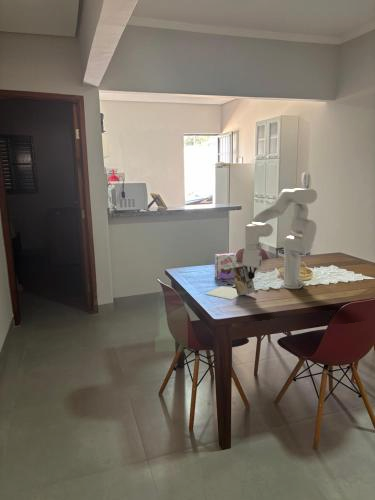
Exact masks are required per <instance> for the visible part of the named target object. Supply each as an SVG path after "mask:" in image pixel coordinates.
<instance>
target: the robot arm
mask: <svg viewBox="0 0 375 500" xmlns="http://www.w3.org/2000/svg"><path fill="white" fill-rule="evenodd" d="M317 198H318V193H317V191H316V190H315V189H314V188H302V187H301V188H299V187H297V188H284V189H282V190H281V191H280V192H279V194H278V195H277V196H276V198H274V201H273V202H272V203H271V204H270V205H269V207H267V208H265V209H263V210H262V211H260V212H259V213H257V214H256V215H255V217H254V218H253V219H252V221H250V223H249V224H246V225H245V229H244V230H245V232H244V233H245V235H244V237H245V239H244V241H245V242H244V249H243V253H242V266H245V267H246V269H247V270H248V272H249V279H254V278H255V275H256V271H259V270H261V269H262V263H263V261H262V260H263V259H262V258H263V257H262V250H261V248H262V245H260V238H262V237H263V238H267V237H270V236H272V234H273V231H274V228H273V226H272V225H271V224H269V223H267V221H271V220H273V219H277V218H280V217H282V216H283V214H284V213H285V211H287V209H288V208H289V206H290V205H293V214H292V218H291V221H290V225H289V230H290V232H291V233H293V234H295V235H287V236H285V237H284V239H283V243H282V246H283V252H284V253H283V254H284V260H283V261H284V263H283V282H281V283H280V287H283V288H284V289H289V290H298V289H301V288H303V286H304V287H306V286H307V283H306V281H302V279H301V261H302V260H301V255H300V254H303V255H305V254H309V253H310V252H311V250H312V247H313V244H314V241H315V236H316V233H317V224H316V222H315V221H314V220H313V219H308V216H309V212H310V211H309V207H308V205H311V204H314V203H315V202H316V200H317ZM298 235H299V236H298ZM300 235H301V236H300Z"/></svg>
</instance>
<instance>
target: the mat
mask: <svg viewBox="0 0 375 500" xmlns="http://www.w3.org/2000/svg"><path fill="white" fill-rule="evenodd" d="M206 295H207V296H212V297H217V298H221V299H224V300H226V299H227V300H230V301H232V300H235V299H237V298H238V297H240V296H241V295H237V290H236V287H235V288H233V287H228V286H223V285H220V286H219V287H216V288H214V289H213V290H211V291H208V292H206V293H205V296H206Z"/></svg>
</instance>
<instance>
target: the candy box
mask: <svg viewBox="0 0 375 500" xmlns="http://www.w3.org/2000/svg"><path fill="white" fill-rule="evenodd" d="M234 267H237V254H236V253H235V252H230V253H215V254H214V278H215V279H216V280H226V279H227V280H228V279H229V278H230V279H234V278H233V274H232V270H231V269H232V268H234Z"/></svg>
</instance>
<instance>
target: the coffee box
mask: <svg viewBox="0 0 375 500" xmlns="http://www.w3.org/2000/svg"><path fill="white" fill-rule="evenodd" d="M231 270H232V274H233V278H232V279H233V281H234V285H235V289H236V290H237V295H240V296H245V295H251V294H254V293H255V292H256V288H255V285H254V280H253V279H254V278H253V279H249V272H248V270H247V269H246V267H245V266H243V265H238V266H237V265H236V267H234V268H232V269H231Z"/></svg>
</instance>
